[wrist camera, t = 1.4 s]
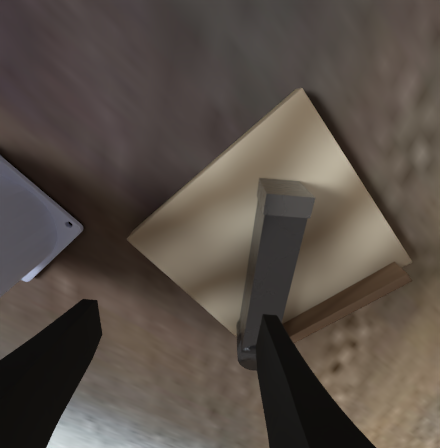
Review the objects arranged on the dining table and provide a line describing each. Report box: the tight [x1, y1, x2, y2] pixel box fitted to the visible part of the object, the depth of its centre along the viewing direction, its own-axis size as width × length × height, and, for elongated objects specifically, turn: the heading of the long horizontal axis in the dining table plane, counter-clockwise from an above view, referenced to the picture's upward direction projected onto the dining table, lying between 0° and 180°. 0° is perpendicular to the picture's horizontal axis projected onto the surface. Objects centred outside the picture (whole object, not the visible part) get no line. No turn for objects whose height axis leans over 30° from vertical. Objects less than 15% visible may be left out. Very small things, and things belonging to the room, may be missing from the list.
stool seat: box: [126, 88, 412, 343], centre depth 19 cm, size 15×15×3 cm
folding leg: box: [236, 178, 315, 370], centre depth 18 cm, size 14×3×3 cm, turn 175°
